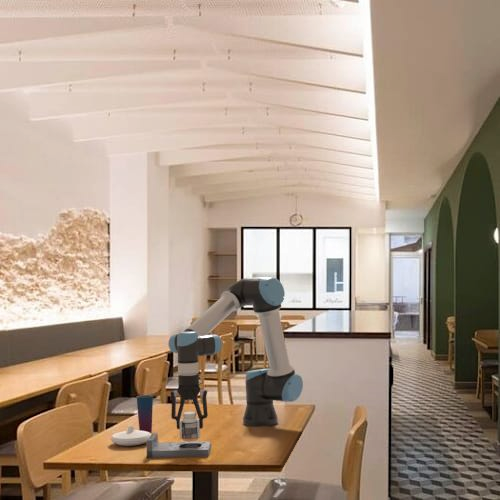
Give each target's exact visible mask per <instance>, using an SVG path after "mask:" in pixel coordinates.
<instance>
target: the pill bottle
mask: <svg viewBox="0 0 500 500" xmlns="http://www.w3.org/2000/svg"><path fill="white" fill-rule="evenodd" d="M182 413H183V415H182V416H183V419H182V439H181V440H182V442H197V441H198V439H199V438H198V436H197V420H198V418H197V417H196V416H197V411H196V412H195V411H185V412H182Z"/></svg>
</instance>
